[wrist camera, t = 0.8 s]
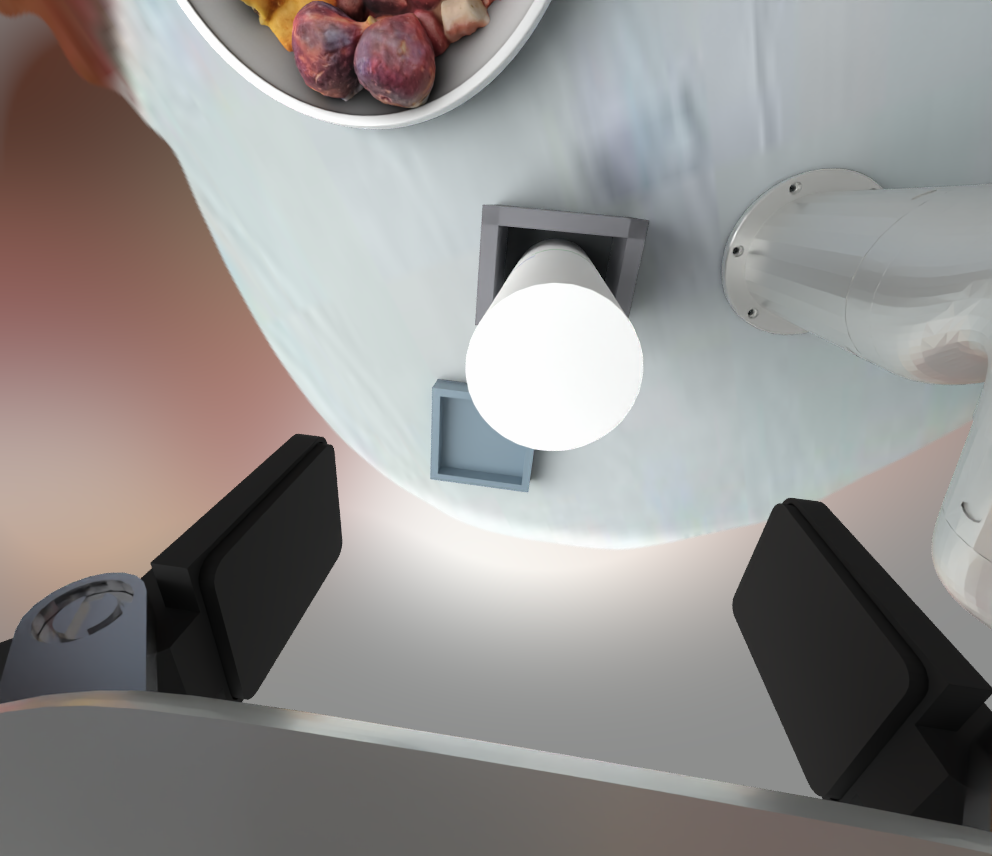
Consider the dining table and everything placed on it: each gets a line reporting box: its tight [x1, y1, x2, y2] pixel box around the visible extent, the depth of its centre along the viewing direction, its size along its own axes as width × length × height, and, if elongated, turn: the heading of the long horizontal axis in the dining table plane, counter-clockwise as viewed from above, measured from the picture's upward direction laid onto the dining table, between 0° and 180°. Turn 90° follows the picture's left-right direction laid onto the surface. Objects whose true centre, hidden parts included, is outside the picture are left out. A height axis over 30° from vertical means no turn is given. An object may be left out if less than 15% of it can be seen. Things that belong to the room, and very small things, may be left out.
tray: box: [430, 379, 534, 492], centre depth 47 cm, size 11×11×2 cm
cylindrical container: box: [466, 238, 643, 451], centre depth 29 cm, size 7×7×25 cm
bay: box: [475, 205, 649, 325], centre depth 36 cm, size 11×8×8 cm
